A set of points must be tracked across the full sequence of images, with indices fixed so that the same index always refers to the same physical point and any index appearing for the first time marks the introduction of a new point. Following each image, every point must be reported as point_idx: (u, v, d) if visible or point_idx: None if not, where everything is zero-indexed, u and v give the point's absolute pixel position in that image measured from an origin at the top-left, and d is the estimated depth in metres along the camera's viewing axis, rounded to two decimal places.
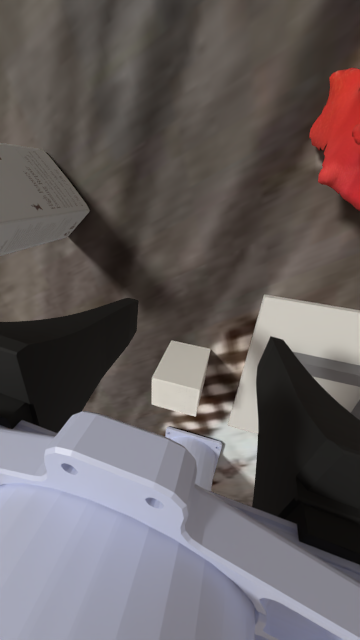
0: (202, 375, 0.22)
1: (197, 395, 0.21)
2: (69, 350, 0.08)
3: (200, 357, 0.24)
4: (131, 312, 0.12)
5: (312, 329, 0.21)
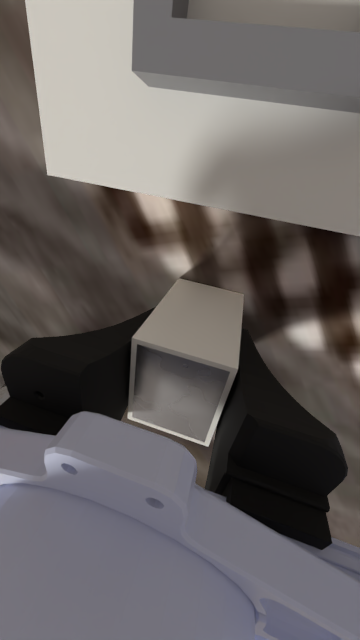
0: None
1: (152, 347, 0.08)
2: (116, 365, 0.08)
3: None
4: None
5: (82, 38, 0.09)
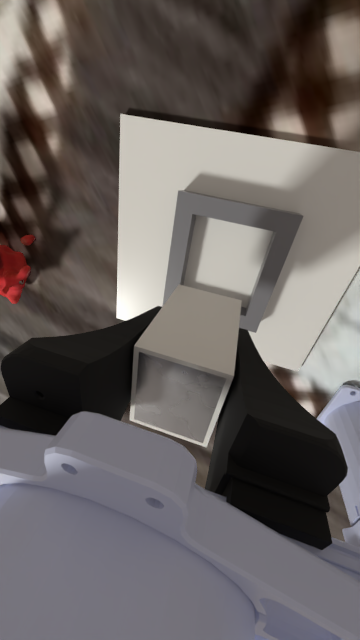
0: (152, 323, 0.10)
1: (153, 354, 0.08)
2: (116, 364, 0.08)
3: None
4: None
5: (140, 281, 0.21)
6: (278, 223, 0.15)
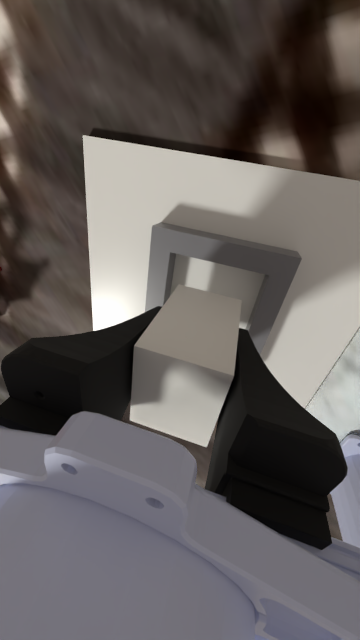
0: (152, 322, 0.10)
1: (153, 354, 0.08)
2: (116, 365, 0.08)
3: None
4: None
5: (118, 318, 0.19)
6: (271, 265, 0.12)
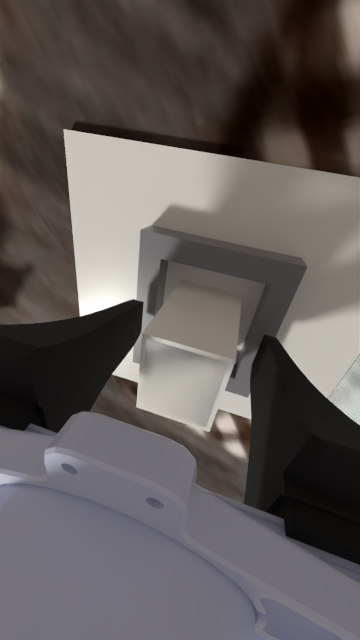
0: None
1: (160, 341, 0.09)
2: (77, 352, 0.08)
3: None
4: (136, 314, 0.12)
5: None
6: (273, 274, 0.11)
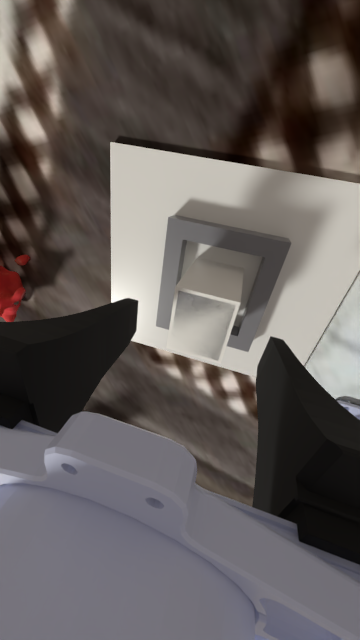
0: None
1: (188, 291, 0.13)
2: (69, 350, 0.08)
3: None
4: (131, 312, 0.12)
5: None
6: (267, 249, 0.15)
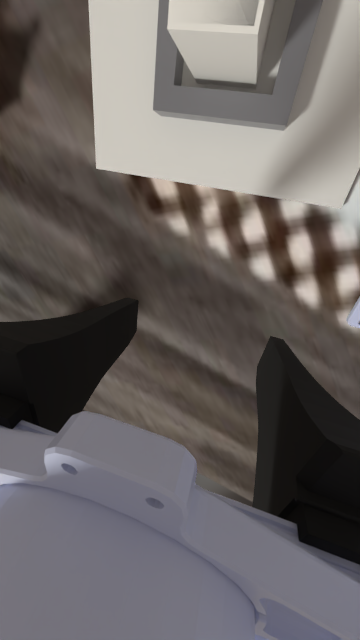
0: None
1: None
2: (69, 350, 0.08)
3: None
4: (131, 312, 0.12)
5: (123, 90, 0.16)
6: None
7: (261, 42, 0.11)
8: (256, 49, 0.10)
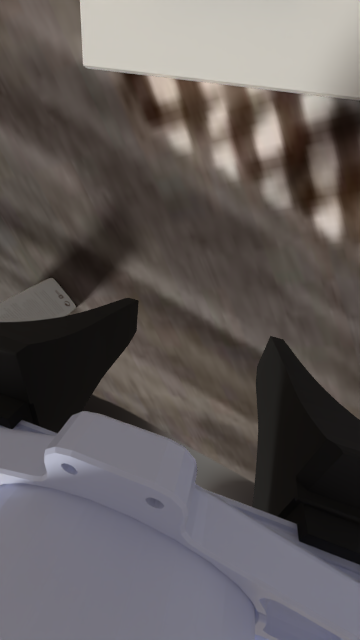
0: None
1: None
2: (69, 350, 0.08)
3: None
4: (131, 312, 0.12)
5: None
6: None
7: None
8: None
